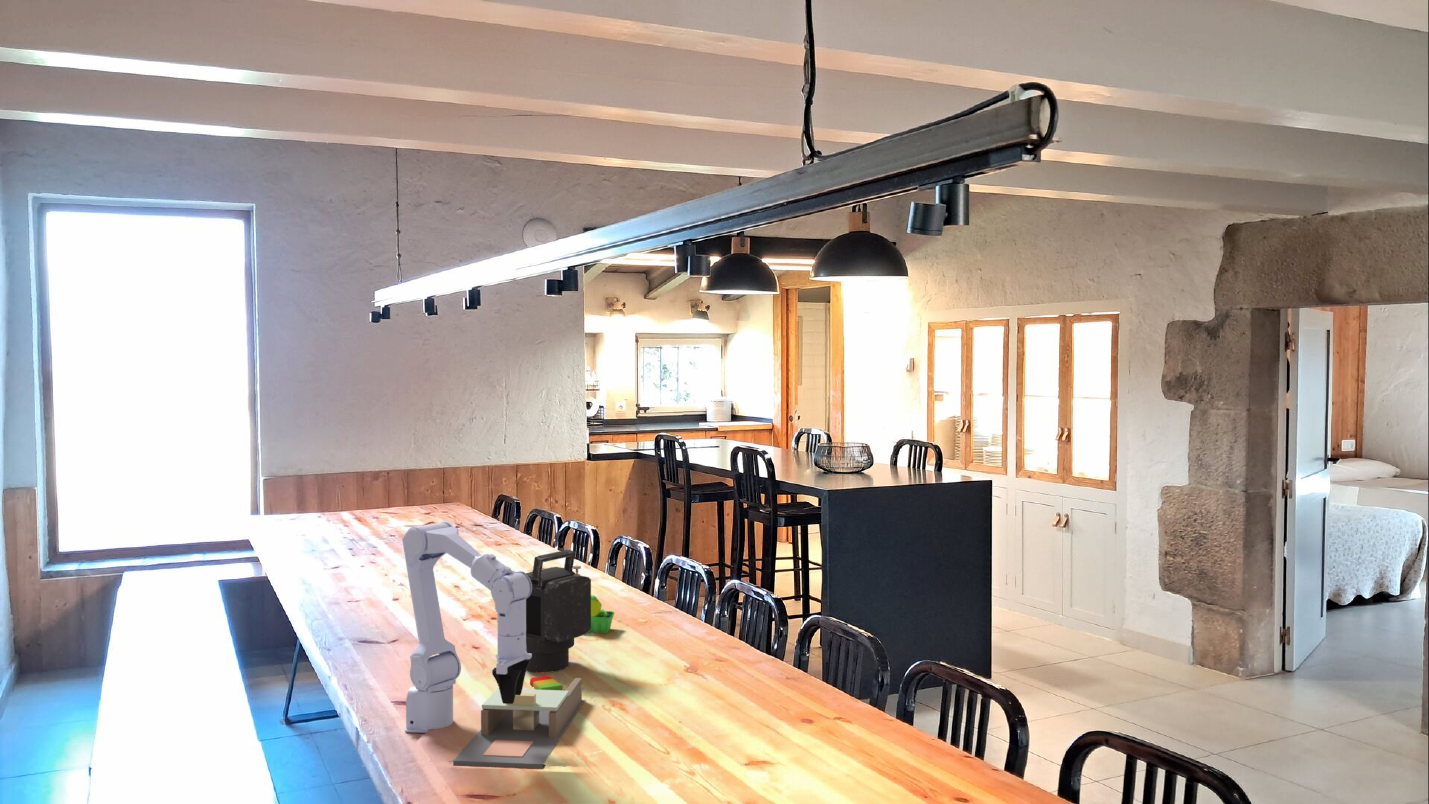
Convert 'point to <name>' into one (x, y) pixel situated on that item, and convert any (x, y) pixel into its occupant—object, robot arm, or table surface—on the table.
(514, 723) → the block
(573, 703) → the board
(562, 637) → the lantern
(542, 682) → the popsicle
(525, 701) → the lid
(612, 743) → the table surface
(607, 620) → the fruit basket
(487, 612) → the table surface
